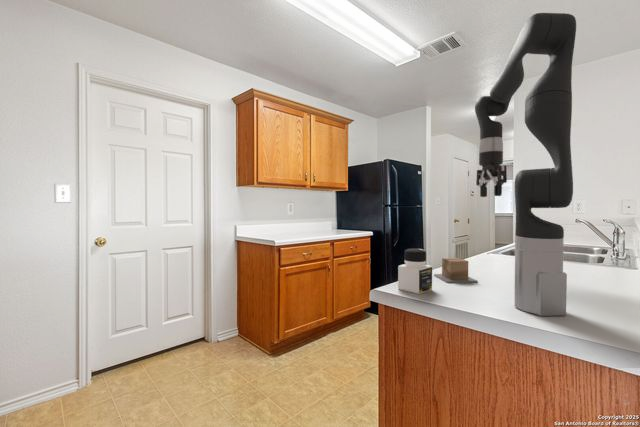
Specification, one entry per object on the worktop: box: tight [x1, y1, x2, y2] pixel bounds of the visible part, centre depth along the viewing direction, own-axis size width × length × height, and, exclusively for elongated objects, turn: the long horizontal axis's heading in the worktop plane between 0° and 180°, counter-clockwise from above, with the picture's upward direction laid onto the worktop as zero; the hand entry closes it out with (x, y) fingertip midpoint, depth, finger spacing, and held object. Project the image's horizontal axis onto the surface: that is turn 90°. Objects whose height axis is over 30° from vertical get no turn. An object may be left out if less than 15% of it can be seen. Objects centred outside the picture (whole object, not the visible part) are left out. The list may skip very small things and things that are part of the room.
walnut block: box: [441, 257, 469, 280], centre depth 101 cm, size 6×6×6 cm
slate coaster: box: [433, 273, 479, 284], centre depth 101 cm, size 10×10×1 cm
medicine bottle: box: [397, 248, 433, 295], centre depth 88 cm, size 7×7×12 cm
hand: (490, 196), depth 109 cm, fingers open, 8 cm apart
